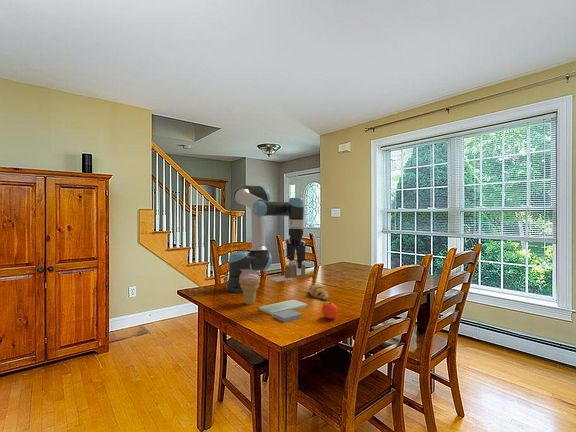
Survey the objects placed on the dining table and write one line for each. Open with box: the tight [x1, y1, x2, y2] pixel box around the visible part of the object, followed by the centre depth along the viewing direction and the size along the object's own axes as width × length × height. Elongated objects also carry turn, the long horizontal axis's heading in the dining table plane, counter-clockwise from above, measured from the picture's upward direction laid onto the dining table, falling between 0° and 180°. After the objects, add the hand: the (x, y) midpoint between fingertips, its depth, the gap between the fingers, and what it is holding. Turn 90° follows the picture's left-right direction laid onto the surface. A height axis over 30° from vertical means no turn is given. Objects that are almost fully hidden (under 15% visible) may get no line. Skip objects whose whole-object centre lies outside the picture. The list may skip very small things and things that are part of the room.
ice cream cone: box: [239, 264, 261, 306], centre depth 158 cm, size 11×11×20 cm
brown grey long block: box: [268, 263, 306, 283], centre depth 152 cm, size 19×6×6 cm, turn 130°
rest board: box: [258, 299, 309, 316], centre depth 150 cm, size 11×22×1 cm, turn 129°
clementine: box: [321, 301, 338, 320], centre depth 136 cm, size 8×7×7 cm
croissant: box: [308, 283, 330, 301], centre depth 173 cm, size 21×10×8 cm, turn 20°
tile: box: [272, 309, 303, 323], centre depth 136 cm, size 8×2×10 cm
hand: (295, 273), depth 155 cm, fingers closed on brown grey long block, 4 cm apart
